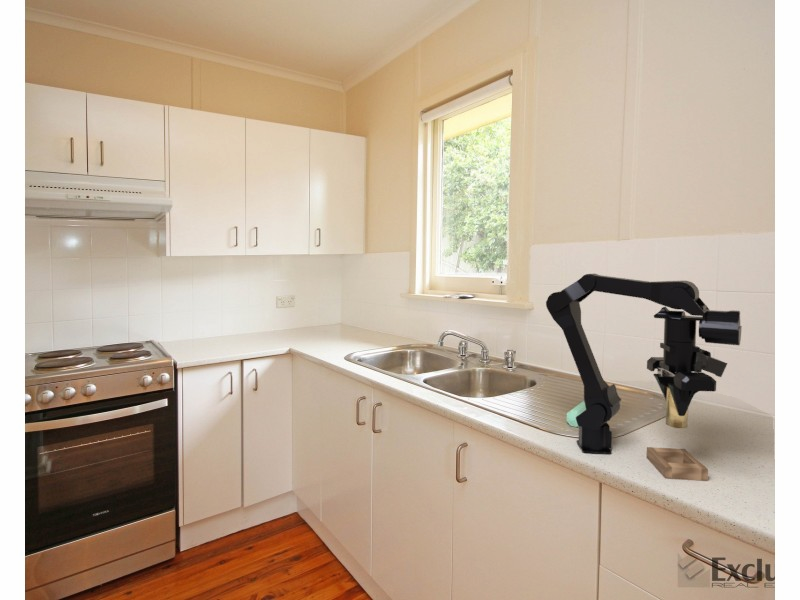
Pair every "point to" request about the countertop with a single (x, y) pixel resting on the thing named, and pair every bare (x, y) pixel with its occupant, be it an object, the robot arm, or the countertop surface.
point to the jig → (677, 464)
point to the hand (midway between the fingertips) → (676, 412)
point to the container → (575, 414)
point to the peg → (674, 413)
